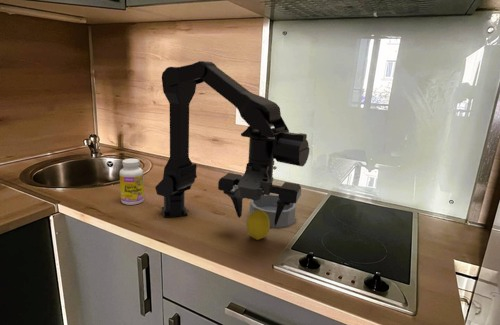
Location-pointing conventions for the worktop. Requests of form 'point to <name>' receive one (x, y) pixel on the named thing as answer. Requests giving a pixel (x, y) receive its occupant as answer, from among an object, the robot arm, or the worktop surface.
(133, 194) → the supplement bottle
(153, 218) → the worktop surface
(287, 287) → the worktop surface
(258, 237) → the lemon
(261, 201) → the bowl
